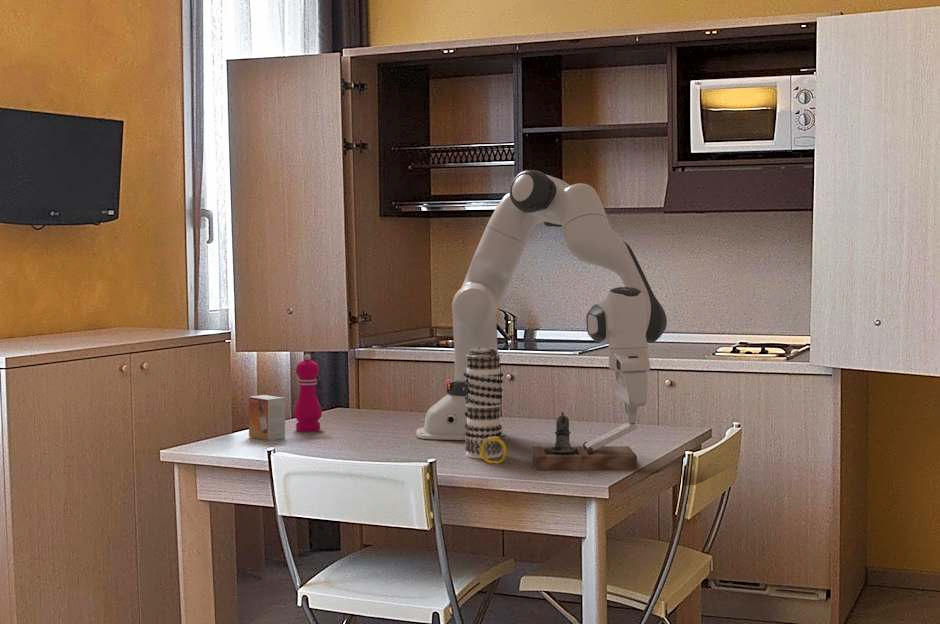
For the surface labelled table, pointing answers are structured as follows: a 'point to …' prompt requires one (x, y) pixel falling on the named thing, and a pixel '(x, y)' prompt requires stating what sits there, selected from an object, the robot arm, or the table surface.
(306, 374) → the pepper mill
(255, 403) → the small box
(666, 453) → the table surface
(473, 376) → the decorative candle
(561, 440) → the weathered chess piece
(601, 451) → the walnut holder
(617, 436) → the latch bar
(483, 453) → the yellow faceted ring
